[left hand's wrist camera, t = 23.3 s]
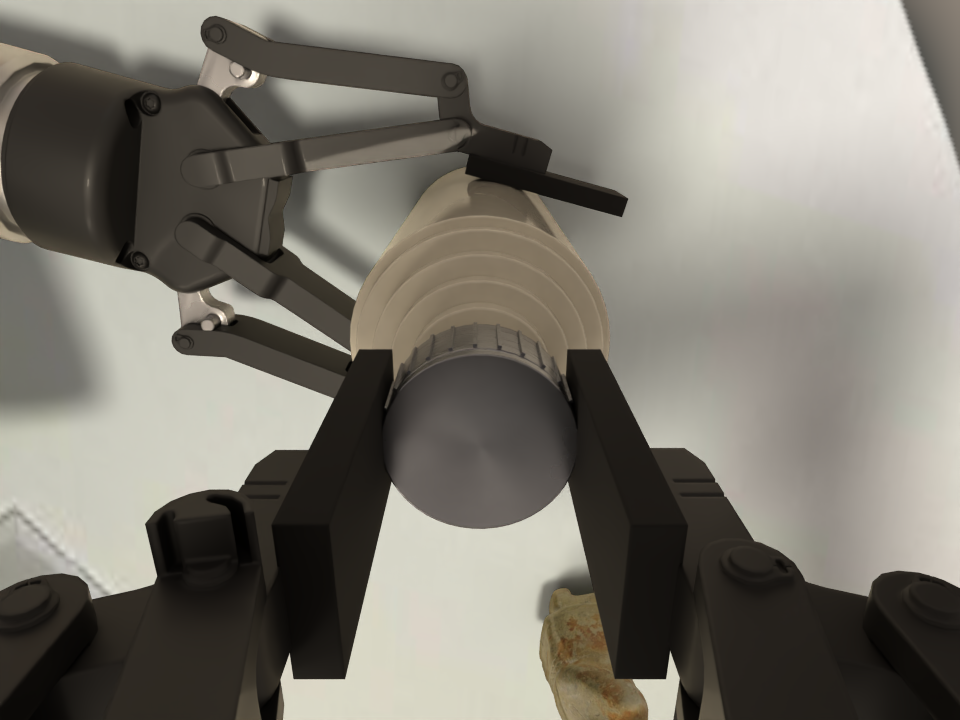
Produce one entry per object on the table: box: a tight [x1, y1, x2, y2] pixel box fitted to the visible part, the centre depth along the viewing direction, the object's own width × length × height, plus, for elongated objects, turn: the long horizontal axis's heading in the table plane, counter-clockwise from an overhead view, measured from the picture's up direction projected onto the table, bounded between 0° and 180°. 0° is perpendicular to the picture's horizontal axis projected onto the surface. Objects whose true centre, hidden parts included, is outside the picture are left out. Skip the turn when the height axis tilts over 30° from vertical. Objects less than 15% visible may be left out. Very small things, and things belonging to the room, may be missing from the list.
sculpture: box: [539, 588, 648, 720], centre depth 35 cm, size 6×7×15 cm
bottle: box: [350, 167, 610, 381], centre depth 24 cm, size 8×8×21 cm
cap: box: [382, 322, 577, 529], centre depth 14 cm, size 4×4×2 cm
